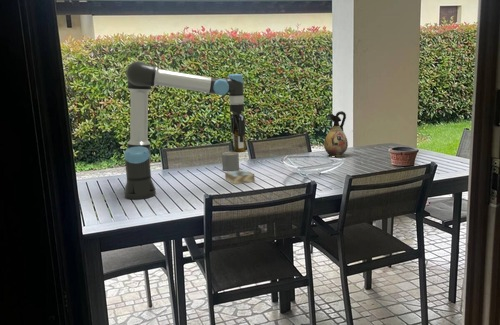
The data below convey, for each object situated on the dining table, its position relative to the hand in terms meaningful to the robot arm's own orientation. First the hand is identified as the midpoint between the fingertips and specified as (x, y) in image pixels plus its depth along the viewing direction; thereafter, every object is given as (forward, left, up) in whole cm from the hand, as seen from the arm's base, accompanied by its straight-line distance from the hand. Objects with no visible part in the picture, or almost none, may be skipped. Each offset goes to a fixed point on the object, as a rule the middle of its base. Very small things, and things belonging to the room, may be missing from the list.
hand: (238, 147), depth 243 cm
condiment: (0, 0, -3) cm, 3 cm away
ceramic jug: (+82, +26, -19) cm, 88 cm away
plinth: (0, 0, -18) cm, 18 cm away
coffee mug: (+6, +29, -19) cm, 35 cm away
